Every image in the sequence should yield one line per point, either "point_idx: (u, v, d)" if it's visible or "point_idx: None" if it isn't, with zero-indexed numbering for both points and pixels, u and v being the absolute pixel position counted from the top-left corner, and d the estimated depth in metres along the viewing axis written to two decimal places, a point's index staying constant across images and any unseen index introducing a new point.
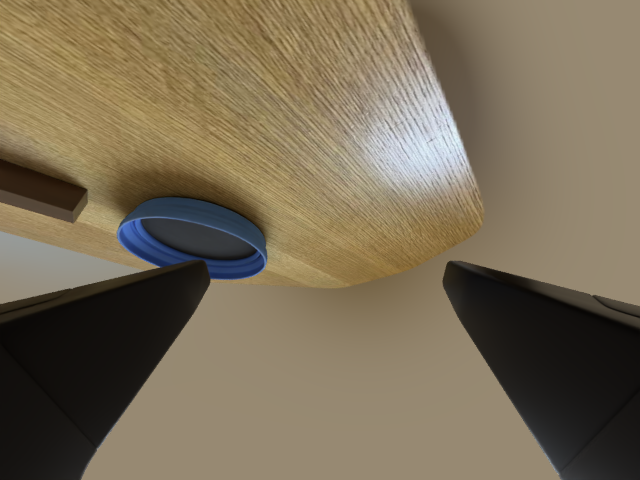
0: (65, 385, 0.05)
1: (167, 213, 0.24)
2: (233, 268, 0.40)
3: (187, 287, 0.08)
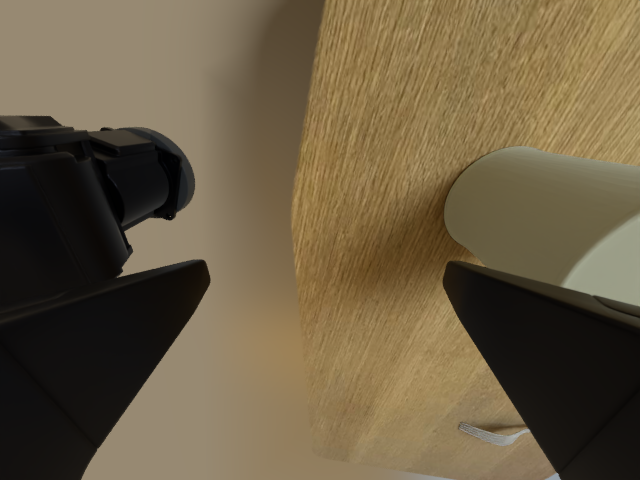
0: (65, 385, 0.05)
1: None
2: None
3: (187, 287, 0.08)
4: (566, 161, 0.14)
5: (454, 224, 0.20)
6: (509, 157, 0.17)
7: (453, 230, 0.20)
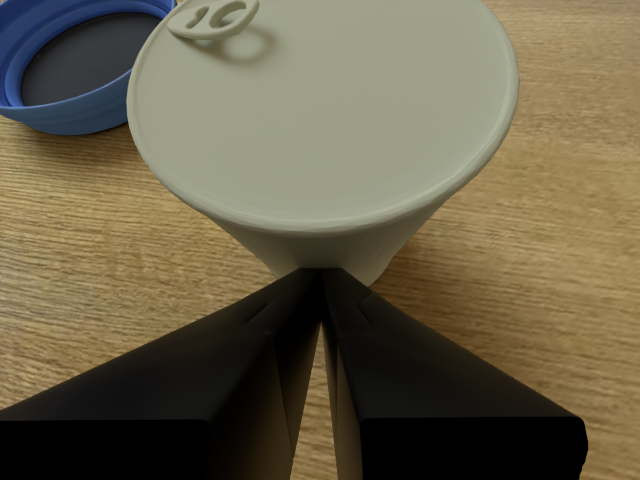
0: None
1: (106, 94, 0.18)
2: (42, 16, 0.24)
3: None
4: None
5: None
6: None
7: (368, 282, 0.14)
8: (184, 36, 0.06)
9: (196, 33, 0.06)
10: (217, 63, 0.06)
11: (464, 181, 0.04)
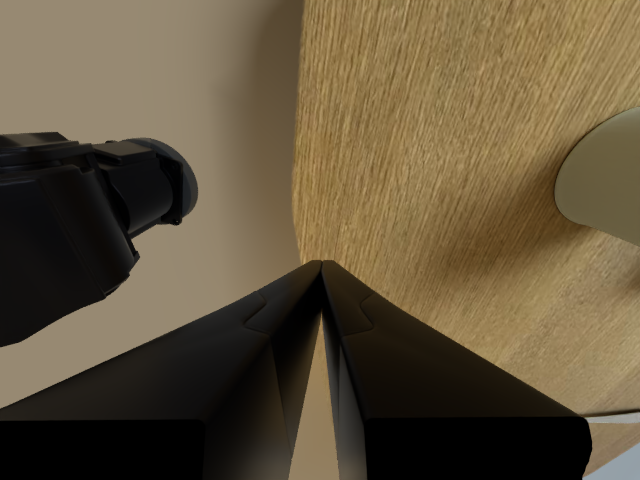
0: None
1: None
2: None
3: (320, 289, 0.08)
4: None
5: (575, 206, 0.18)
6: (635, 123, 0.16)
7: (574, 213, 0.19)
8: None
9: None
10: None
11: None
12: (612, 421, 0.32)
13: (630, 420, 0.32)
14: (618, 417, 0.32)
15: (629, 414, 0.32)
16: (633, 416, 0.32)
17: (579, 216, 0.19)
